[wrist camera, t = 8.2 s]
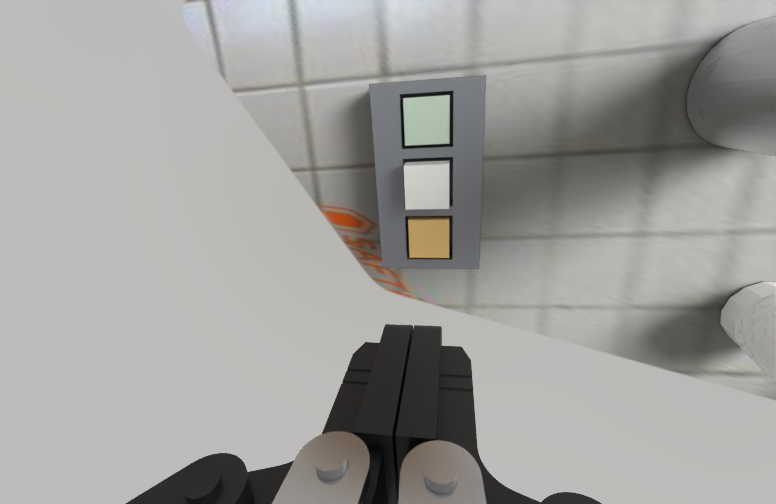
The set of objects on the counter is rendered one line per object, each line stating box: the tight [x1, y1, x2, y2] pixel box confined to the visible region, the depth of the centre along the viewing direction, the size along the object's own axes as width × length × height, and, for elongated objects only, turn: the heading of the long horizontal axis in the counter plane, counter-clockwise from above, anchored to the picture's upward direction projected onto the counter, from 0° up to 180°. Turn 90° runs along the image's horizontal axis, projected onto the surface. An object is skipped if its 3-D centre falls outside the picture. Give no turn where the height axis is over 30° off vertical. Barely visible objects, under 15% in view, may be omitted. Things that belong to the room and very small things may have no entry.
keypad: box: [369, 75, 486, 269], centre depth 33 cm, size 9×16×4 cm, turn 3°
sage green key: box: [403, 95, 450, 146], centre depth 30 cm, size 4×4×2 cm
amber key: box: [408, 216, 449, 258], centre depth 34 cm, size 4×4×2 cm
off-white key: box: [404, 160, 449, 210], centre depth 30 cm, size 4×4×2 cm
